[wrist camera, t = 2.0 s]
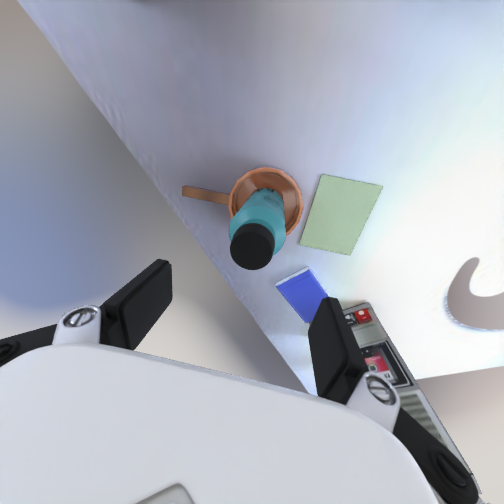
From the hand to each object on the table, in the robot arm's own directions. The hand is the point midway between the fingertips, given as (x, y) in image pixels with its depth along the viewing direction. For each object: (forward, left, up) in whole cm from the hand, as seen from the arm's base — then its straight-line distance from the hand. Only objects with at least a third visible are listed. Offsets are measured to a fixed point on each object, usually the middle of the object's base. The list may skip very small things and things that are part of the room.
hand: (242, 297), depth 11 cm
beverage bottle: (0, 0, -26) cm, 26 cm away
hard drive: (+13, -18, -26) cm, 34 cm away
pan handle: (-10, 0, -23) cm, 26 cm away
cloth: (+13, 0, -26) cm, 29 cm away
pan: (0, 0, -26) cm, 26 cm away
